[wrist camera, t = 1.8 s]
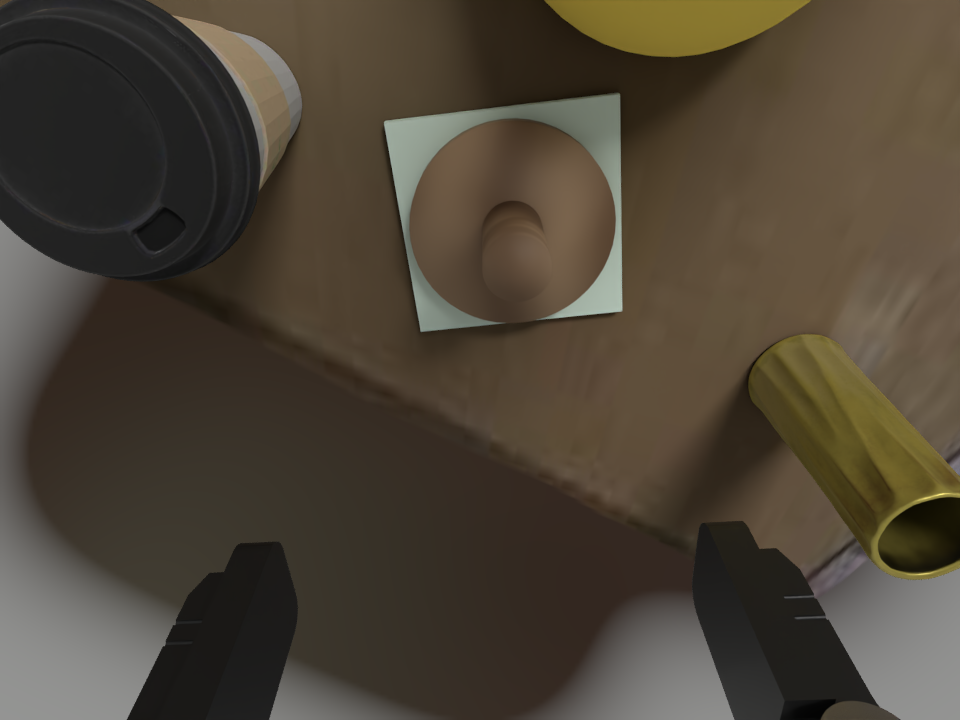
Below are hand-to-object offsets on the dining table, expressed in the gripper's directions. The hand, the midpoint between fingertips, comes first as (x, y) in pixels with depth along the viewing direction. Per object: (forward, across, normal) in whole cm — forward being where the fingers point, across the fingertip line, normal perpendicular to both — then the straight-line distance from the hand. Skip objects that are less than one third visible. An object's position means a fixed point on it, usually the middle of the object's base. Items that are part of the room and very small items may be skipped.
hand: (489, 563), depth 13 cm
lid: (+26, -2, +1) cm, 26 cm away
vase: (+27, -19, +12) cm, 35 cm away
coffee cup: (+27, +12, -6) cm, 30 cm away
